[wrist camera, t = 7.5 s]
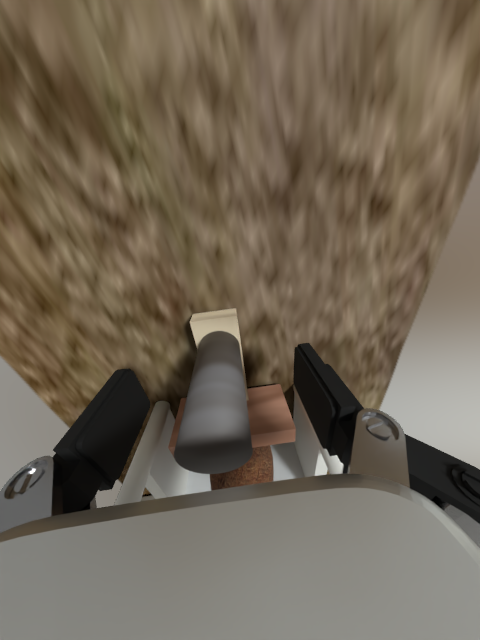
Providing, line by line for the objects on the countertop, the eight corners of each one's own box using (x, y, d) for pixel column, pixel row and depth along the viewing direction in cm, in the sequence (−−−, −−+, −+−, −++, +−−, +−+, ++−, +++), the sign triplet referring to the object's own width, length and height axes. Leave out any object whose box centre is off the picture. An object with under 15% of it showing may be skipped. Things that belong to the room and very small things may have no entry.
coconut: (201, 416, 17) (185, 543, 10) (237, 390, 16) (247, 514, 9) (237, 435, 19) (244, 552, 12) (272, 413, 18) (302, 530, 11)
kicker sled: (149, 320, 12) (48, 436, 5) (278, 302, 12) (348, 393, 5) (185, 409, 16) (157, 535, 9) (280, 395, 16) (318, 511, 10)
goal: (152, 401, 16) (94, 537, 9) (307, 379, 16) (371, 494, 9) (184, 461, 21) (162, 577, 14) (301, 443, 21) (340, 549, 14)
